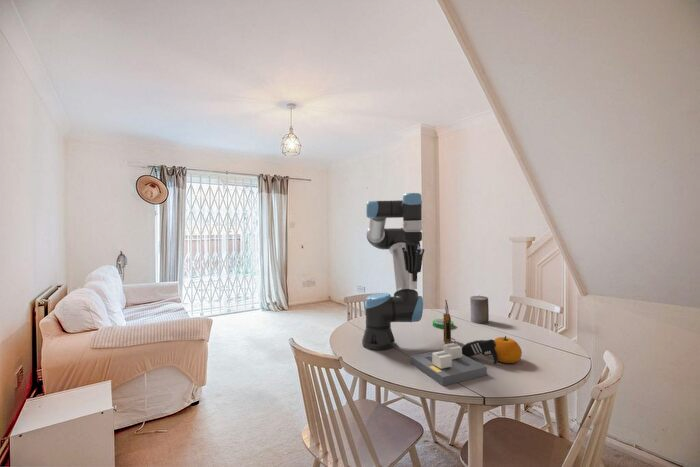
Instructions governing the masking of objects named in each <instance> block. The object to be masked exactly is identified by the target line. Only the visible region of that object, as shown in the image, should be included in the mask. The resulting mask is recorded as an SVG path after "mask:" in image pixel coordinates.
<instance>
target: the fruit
mask: <svg viewBox="0 0 700 467" xmlns="http://www.w3.org/2000/svg"><path fill="white" fill-rule="evenodd" d="M493 340H494V341H495V343H496V346H495V351H496V353H497V358H498V360H497V362H501V363H503V364H504V363H505V364H514V363H517V362H519V361H520V360H521V359H522V354H523V352H522V348H521V346H520V344H519V343H518V342H517V341H516V340H515V339H513V338H510V337H507V335H505V336H501V337H500V336H499V337H496V338H494V339H493Z"/></svg>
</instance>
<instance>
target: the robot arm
mask: <svg viewBox="0 0 700 467" xmlns="http://www.w3.org/2000/svg"><path fill="white" fill-rule="evenodd" d="M422 203H423V199H422V194H421V193H419V192H409V193H408V192H407V193H404V194H403V195H402V200H400V199H398V200H397V199H396V200H369V201H367V202H366V209H365V210H366V212H365V213H366V217H367V218H368V219H369V223H368V224H369V226H368V229H367V231H366V240H367V242H368V243H369V244H370V245H371V246H373V247H374V248H377V249H379V250H389V253H390V254H391V255H392V261H393V271H394V272H393V273H394V279H395V289H396V291H395V292H394V293H393V296H392V295H391V294H390V293H389V292H380V293H379V292H377V293H372V294H371V295H368V296H367V297H366V298H365V329H364V333H363V336H362V339H361V341H362V344H363V345H362V344H361V345H362V346H363V347H364V346H365V347H364V348H365V349H368V348H369V349H370V350H375V351H384V350H389V349H390V350H391V349H393V348H395V345H396V343H395V342H396V341H395V337H394V333H393V331H392V326H391V323H417V322H421V320H422V317H423V312H424V311H423V310H424V298H423V296H421V295H419V292H418V291H417V289H418V274H419V273H421V272H422V264H423V257H424V254H425V249H424V248H422V247H421V242H422V240H423V232H422V230H423V219H422V218H423V215H422V214H423V213H422V212H423V211H422V210H423V206H422ZM392 218H393V219H394V218H396V219H399V218H402V226H403V227H401V228H399V227H398V228H394V227H393V228H392V227H391V228H385V227H386V226H385V225H386V221H387V219H392Z"/></svg>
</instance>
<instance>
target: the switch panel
mask: <svg viewBox="0 0 700 467" xmlns="http://www.w3.org/2000/svg"><path fill="white" fill-rule="evenodd" d="M439 351H443V349H440V350H439V349H438V350H434V351H429V352H424V353H423V352H422V353H418V354H412V355H410V358H409V359H410V361H409V362H410V364H411V365H412V366H414V367H416V369H418V370H420V371H421V372H422V373H423V374H425V375H426V376H428V377H430V379H432V380H434V381H435V382H436V383H438V384H439V385H441V386H443V387H444V386H448V385H451V384H455V383H460V382H465V381H468V380H472V379H476V378H480V377H484V376H488V366H486V365H484V364H482V363H480V362H478V361H476V360H474V359H472V358H471V357H467V356H465V355H463V354H462V357H461V358H456V359H452V366H451V367H447V368H442V369H440V368H439V367H437V366H435V365H434V364H432V353H434V352H439Z"/></svg>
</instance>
